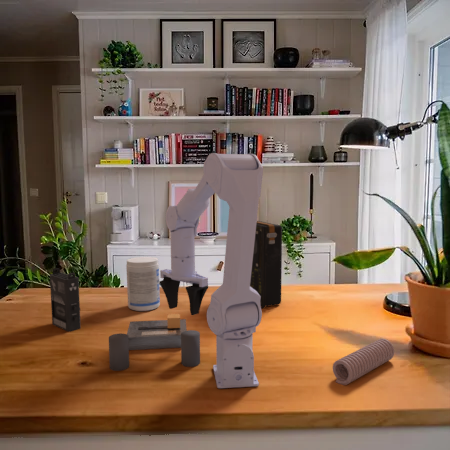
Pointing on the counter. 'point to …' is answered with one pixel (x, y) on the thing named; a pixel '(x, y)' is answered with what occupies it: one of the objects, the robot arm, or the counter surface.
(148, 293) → the supplement tub
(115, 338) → the post left
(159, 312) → the counter surface
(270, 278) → the black upright block
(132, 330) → the panel
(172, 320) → the block
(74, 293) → the geiger counter
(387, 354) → the coil
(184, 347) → the post right
